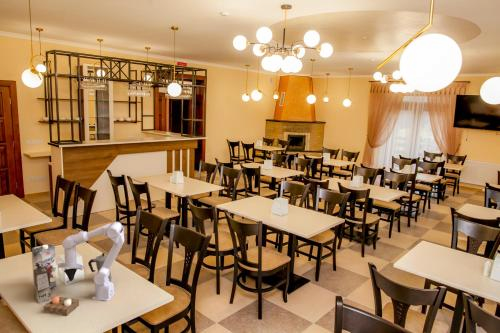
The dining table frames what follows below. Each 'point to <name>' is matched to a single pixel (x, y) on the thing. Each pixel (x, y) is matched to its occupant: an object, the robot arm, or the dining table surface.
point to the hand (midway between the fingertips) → (71, 280)
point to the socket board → (61, 307)
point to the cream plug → (67, 302)
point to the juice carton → (45, 261)
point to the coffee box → (42, 284)
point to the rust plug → (55, 300)
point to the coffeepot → (99, 263)
